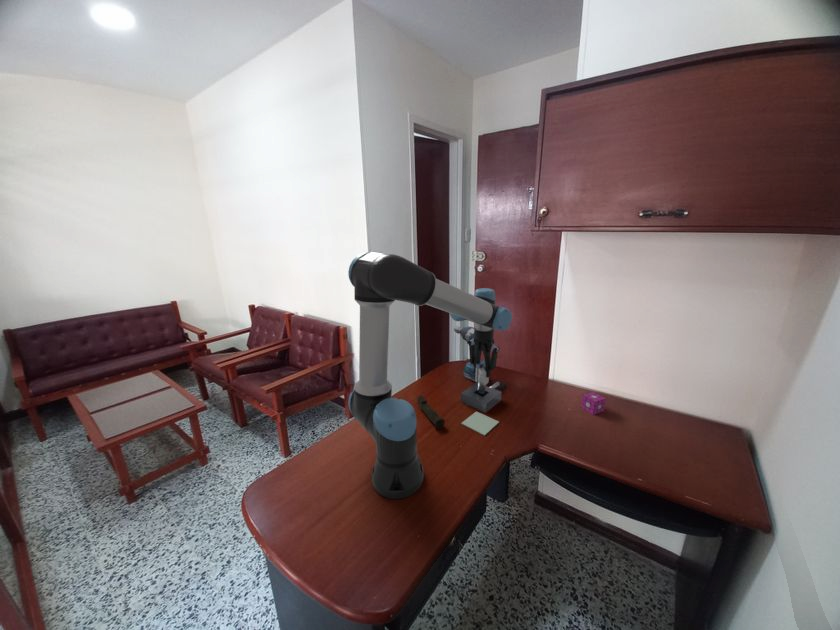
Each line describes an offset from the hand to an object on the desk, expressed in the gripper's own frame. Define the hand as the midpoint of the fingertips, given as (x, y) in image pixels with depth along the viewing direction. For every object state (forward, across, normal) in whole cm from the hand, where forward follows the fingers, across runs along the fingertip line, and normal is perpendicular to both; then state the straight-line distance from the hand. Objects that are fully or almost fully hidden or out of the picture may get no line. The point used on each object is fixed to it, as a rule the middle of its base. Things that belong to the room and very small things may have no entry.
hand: (481, 381), depth 127 cm
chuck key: (+5, 0, 0) cm, 5 cm away
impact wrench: (+9, +15, -15) cm, 23 cm away
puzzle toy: (+9, -36, -24) cm, 44 cm away
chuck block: (+9, 0, -4) cm, 10 cm away
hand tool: (+9, +10, +22) cm, 26 cm away
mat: (+9, -8, +13) cm, 18 cm away
